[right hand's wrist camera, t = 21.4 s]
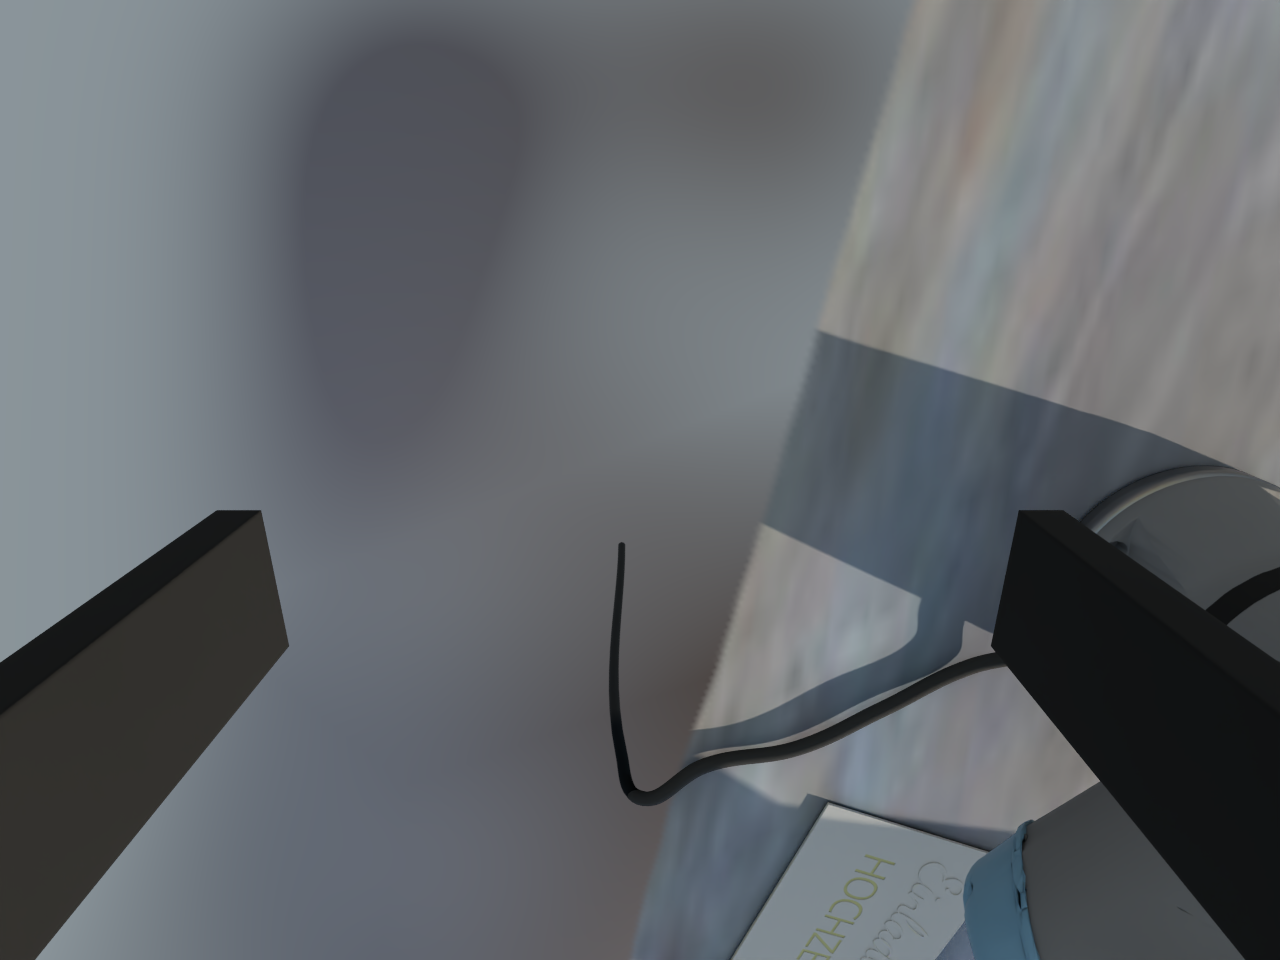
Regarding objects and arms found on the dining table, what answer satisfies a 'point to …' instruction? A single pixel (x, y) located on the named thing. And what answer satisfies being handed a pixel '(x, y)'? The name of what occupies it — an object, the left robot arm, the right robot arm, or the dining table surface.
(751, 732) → the dining table surface
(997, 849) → the right robot arm
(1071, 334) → the dining table surface
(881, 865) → the invitation card
